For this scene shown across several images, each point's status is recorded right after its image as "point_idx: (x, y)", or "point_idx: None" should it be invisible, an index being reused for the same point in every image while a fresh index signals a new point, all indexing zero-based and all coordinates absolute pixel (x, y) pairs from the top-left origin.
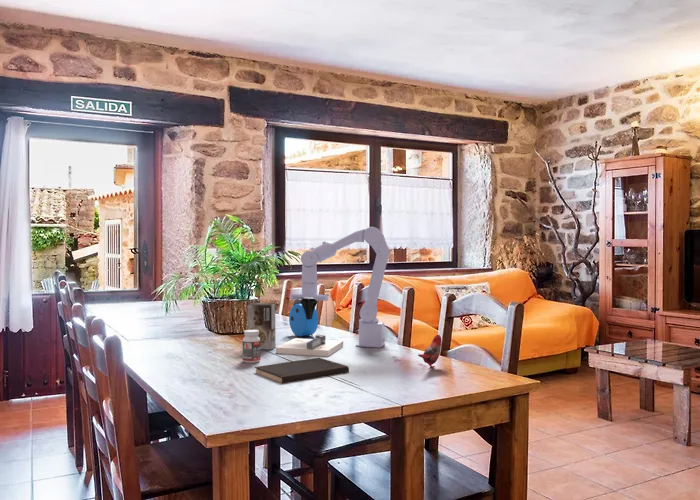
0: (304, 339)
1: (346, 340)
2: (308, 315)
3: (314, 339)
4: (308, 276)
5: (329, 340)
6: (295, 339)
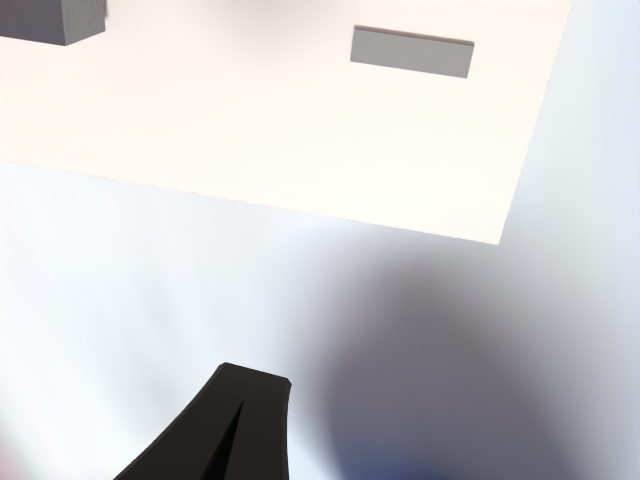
0: (357, 173)
1: (43, 389)
2: (216, 412)
3: None
4: None
5: (45, 146)
6: (479, 160)
